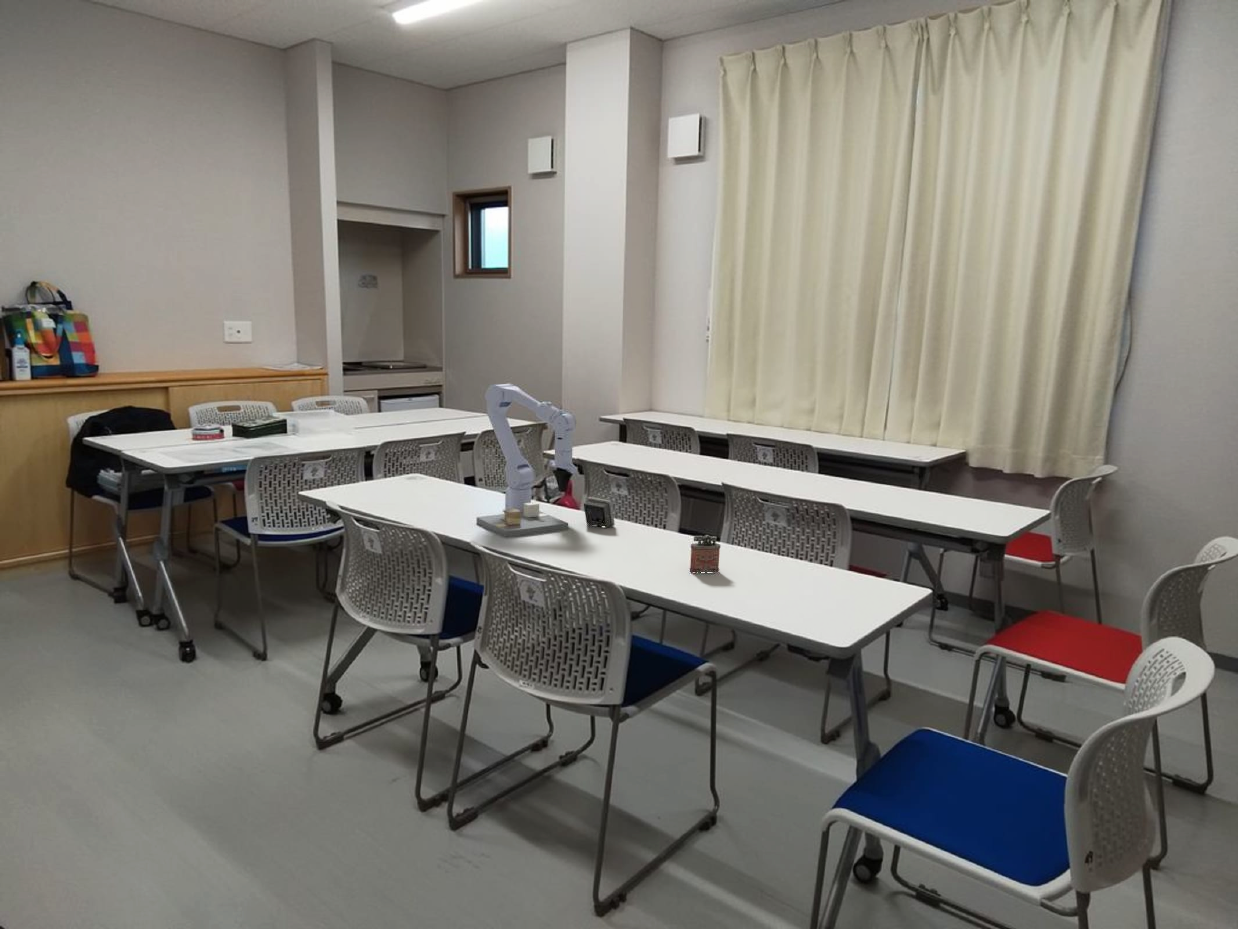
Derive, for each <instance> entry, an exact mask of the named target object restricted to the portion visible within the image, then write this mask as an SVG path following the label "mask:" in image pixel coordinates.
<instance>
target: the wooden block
mask: <svg viewBox="0 0 1238 929" xmlns="http://www.w3.org/2000/svg"><path fill="white" fill-rule="evenodd" d="M504 514H505V524H507V525H515V524H521V511H519V510H517V509H514V510H505V511H504Z"/></svg>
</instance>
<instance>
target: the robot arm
mask: <svg viewBox="0 0 1238 929" xmlns="http://www.w3.org/2000/svg"><path fill="white" fill-rule="evenodd" d="M484 397H485V400H486V406H487V409H486V410H487V411H486V412H487V413H486V414H487V417H488V418H489V422H490V423H491V427H492V429H493V431H494V434H495V436H496V438H497V441H498V444H499V446H500V447H499V448H501V452H502V454H503V456H504V459H505V461H506V464H505V467H504V472H505V481H506V483H507V485H508V487H507V488H506V490H505V493H504V494H505V496H504V502H505V503H504V506H505V507H504V508H503V509H502V511H504V512H505V510H514V509H517V510H519V511H521V512H524V503H532V486H533V483H534V482H535V480H536V475H537V474H536V470H535V469H534V468H533V467H532V466H531V465H530V463H529V461H528V460H527V459H526V458H524V457H523V456H522V452H521V451H520V448H519V445H518V443H517V441H516V440H517V439H516V437H515V436H514V433H513V431H512V429H511V426H510V423H509V419H508V418H507V416H506V413H507V411H508V408H509V407H510V406H511V405H512V404H513V403H515V402H516V403H518V404H519V405H522V406H523V407H526V408H527V409H529V410H532V411H534V413H535V415H536V417H537V418H538V419H540V420H541V421H543V422H545V423H546V424H548V425H550V426H551V427H552V429H553V431H554V460H553V459H552V460H549V464H548V465H549V467H550V468H551V467H552V468H556V469H553V470H552V473H553V475H554V478H555V480H556V483H557V484H556V485H557V488H558V492H560V493H566V492H567V490H568V486H569V484H570V481H571V478H572V477H573V475H574V474H578V471H579V470H578V466H575V465H574V463H573V444H574V442H573V439H574V435H573V434H574V429H575V427H576V426H577V420H576V416H575V415H573V414H572V413H571V412H564V410H563V409H559V408H557V407H556V406H554V405H553V402H550V401H543V402H540V401H538V400H537V399H535V398H534V397H532V396H531V395H529V394H527V392H524V391H523V390H522V389H521V388H520V387H519V386H516V385H514V384H512V383H510V382H509V383H505V384H504V383H503V384H491V385H490V386H489V387H488V388H487V390H486V392H485V394H484Z"/></svg>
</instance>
